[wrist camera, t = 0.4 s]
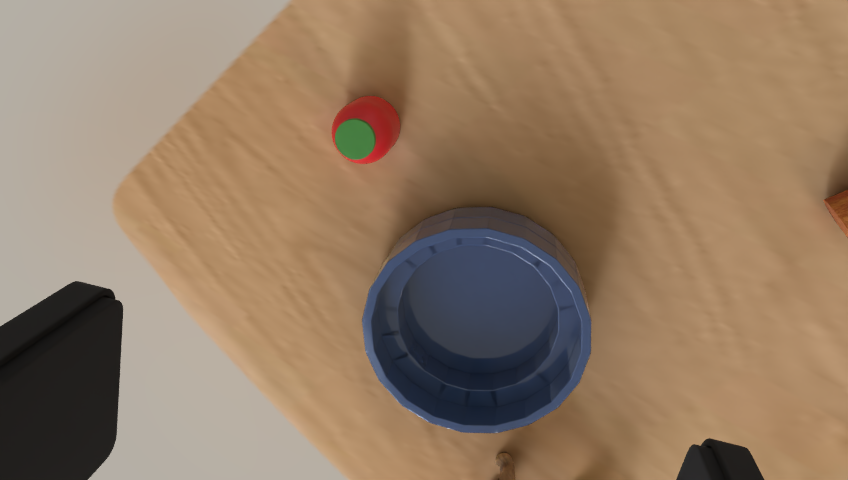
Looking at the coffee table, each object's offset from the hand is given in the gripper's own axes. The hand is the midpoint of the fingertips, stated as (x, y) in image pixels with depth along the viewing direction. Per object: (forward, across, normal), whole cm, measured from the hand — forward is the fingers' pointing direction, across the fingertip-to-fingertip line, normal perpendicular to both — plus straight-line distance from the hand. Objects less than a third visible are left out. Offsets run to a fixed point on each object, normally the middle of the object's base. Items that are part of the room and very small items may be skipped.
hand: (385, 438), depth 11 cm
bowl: (+34, -2, +13) cm, 37 cm away
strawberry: (+34, +7, +2) cm, 35 cm away
